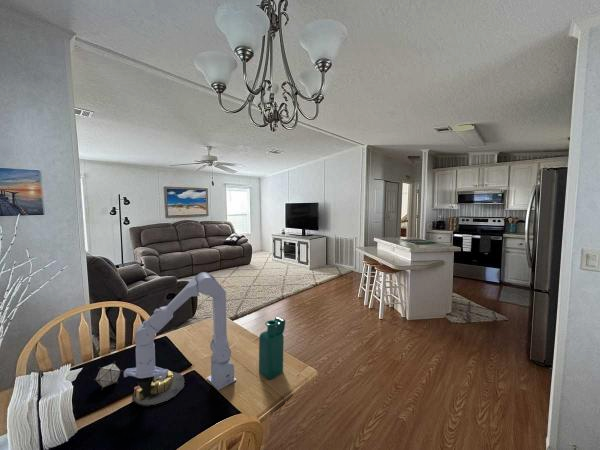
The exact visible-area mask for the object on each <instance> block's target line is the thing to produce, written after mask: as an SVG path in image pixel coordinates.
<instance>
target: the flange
mask: <svg viewBox="0 0 600 450" xmlns="http://www.w3.org/2000/svg"><path fill="white" fill-rule="evenodd" d="M171 372H172V373H173V384H172V385H171V387H170V388H169V389H167V390H166V391H164V392H161V393H157V394H151V393H150V394H149V395H148V396H147V397H144V398H142V399H141V400H138V399H136V390H137V389H139V388H140V386H139V385H138V384H137V386H135V387H133V389H134V391H133V397H132V398H133V401H134V403H135V404H137V405H138V406H141V405H142V406H141V407H151V406H150V405H155V406H157V405H156V404H159V403H162V402H165V401H167V402H169V401H171V400H172V399H171V398H173V397H174V398H176V397H177V396H178V395H179V394H180V393H181V392H182V391H181V390H183V389H184V387H185V384H184V383H185V377H184V376H183V374H181V373H179V372H175V371H171ZM165 379H166V377H165V378H162V377H156V376H154V383H156V381H160V382H162V381H164V380H165ZM180 391H181V392H180ZM179 392H180V393H179ZM178 393H179V394H178ZM177 394H178V395H177ZM176 395H177V396H176ZM174 398H173V399H174ZM170 399H171V400H170ZM168 400H169V401H168ZM165 403H166V402H165ZM162 404H163V403H162ZM159 405H160V404H159Z"/></svg>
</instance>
